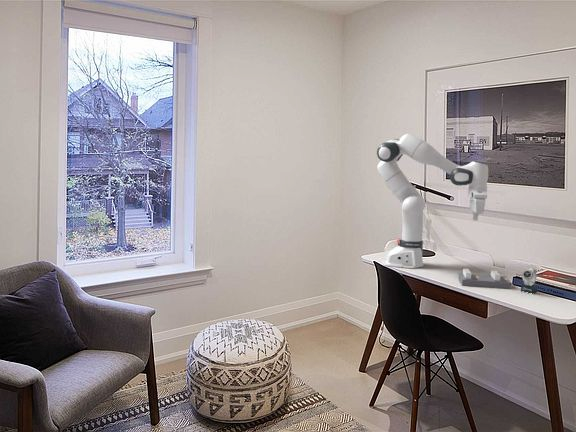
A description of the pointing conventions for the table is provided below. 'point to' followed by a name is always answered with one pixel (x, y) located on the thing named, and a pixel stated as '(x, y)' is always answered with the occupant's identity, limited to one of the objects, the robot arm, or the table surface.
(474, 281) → the power strip
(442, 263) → the table surface
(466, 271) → the left switch
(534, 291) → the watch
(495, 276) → the right switch
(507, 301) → the table surface
